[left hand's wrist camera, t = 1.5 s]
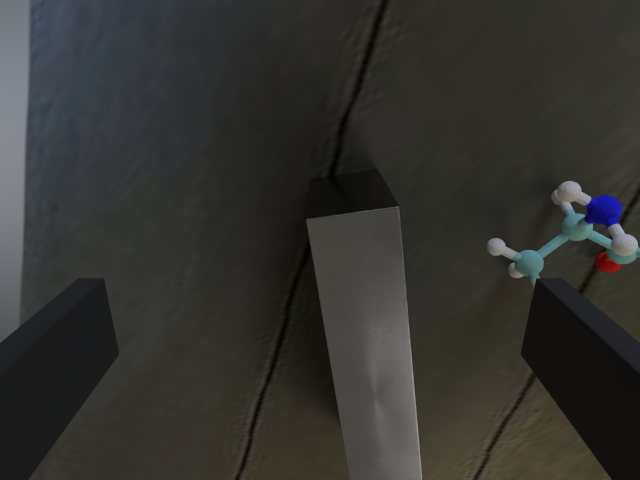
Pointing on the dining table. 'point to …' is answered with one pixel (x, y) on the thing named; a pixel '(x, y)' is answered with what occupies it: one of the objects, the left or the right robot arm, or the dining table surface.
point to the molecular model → (576, 234)
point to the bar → (366, 322)
